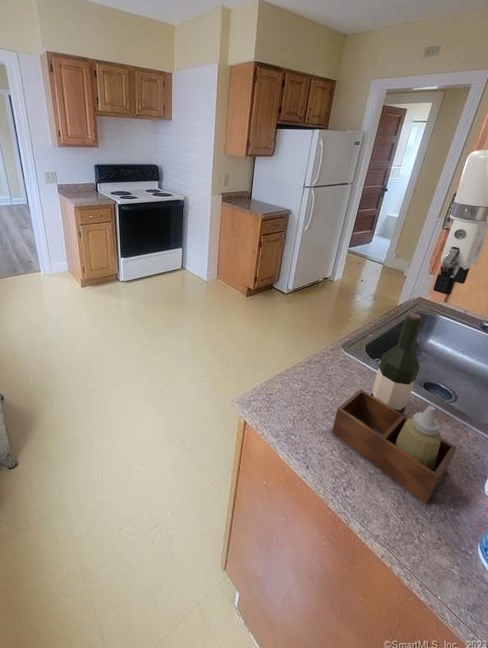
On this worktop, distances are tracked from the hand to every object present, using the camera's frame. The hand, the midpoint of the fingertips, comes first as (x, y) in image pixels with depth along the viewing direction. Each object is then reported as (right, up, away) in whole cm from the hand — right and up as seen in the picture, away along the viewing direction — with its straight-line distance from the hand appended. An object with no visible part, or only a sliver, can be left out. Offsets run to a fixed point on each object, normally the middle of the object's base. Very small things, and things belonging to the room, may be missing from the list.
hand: (448, 286), depth 73 cm
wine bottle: (-6, -35, +15) cm, 38 cm away
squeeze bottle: (-10, -41, -1) cm, 42 cm away
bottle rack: (-13, -39, +3) cm, 42 cm away
